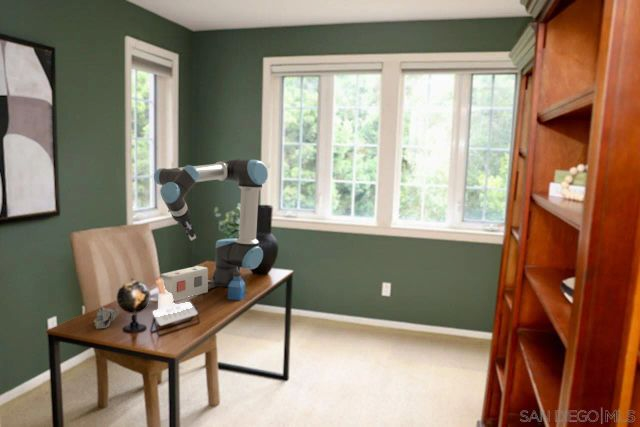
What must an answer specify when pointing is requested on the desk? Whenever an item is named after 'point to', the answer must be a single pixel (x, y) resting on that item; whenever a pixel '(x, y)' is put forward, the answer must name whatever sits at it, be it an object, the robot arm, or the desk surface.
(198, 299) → the desk surface
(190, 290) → the push button box
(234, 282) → the perfume bottle
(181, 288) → the button
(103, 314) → the mineral specimen
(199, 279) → the button
